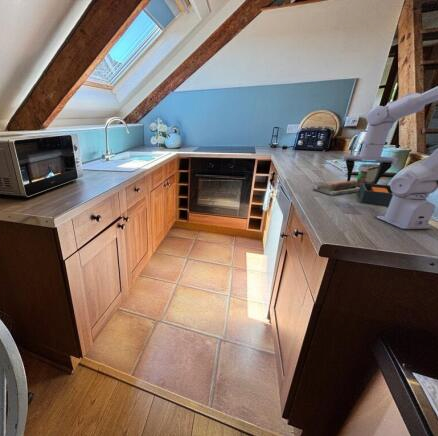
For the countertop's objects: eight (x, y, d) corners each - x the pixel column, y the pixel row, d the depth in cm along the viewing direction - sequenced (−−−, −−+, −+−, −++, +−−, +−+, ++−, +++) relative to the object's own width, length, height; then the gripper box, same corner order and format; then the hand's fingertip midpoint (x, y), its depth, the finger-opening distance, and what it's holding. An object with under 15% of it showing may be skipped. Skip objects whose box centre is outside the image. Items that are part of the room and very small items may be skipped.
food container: (362, 182, 124) (368, 163, 120) (376, 185, 119) (383, 165, 115) (346, 185, 120) (353, 165, 116) (361, 188, 115) (368, 167, 111)
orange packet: (387, 203, 94) (390, 194, 92) (372, 201, 96) (375, 193, 95) (382, 196, 102) (385, 188, 101) (368, 194, 104) (371, 186, 103)
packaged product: (335, 185, 103) (314, 180, 112) (332, 196, 105) (311, 190, 114) (365, 181, 108) (343, 176, 117) (362, 191, 110) (340, 186, 119)
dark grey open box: (401, 207, 91) (406, 195, 89) (360, 202, 97) (365, 190, 95) (393, 197, 102) (397, 186, 100) (357, 193, 108) (361, 182, 106)
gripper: (399, 143, 84) (385, 182, 89) (347, 142, 92) (337, 177, 97) (404, 145, 79) (389, 186, 84) (348, 143, 86) (337, 181, 92)
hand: (361, 182), depth 90 cm, fingers open, 7 cm apart
